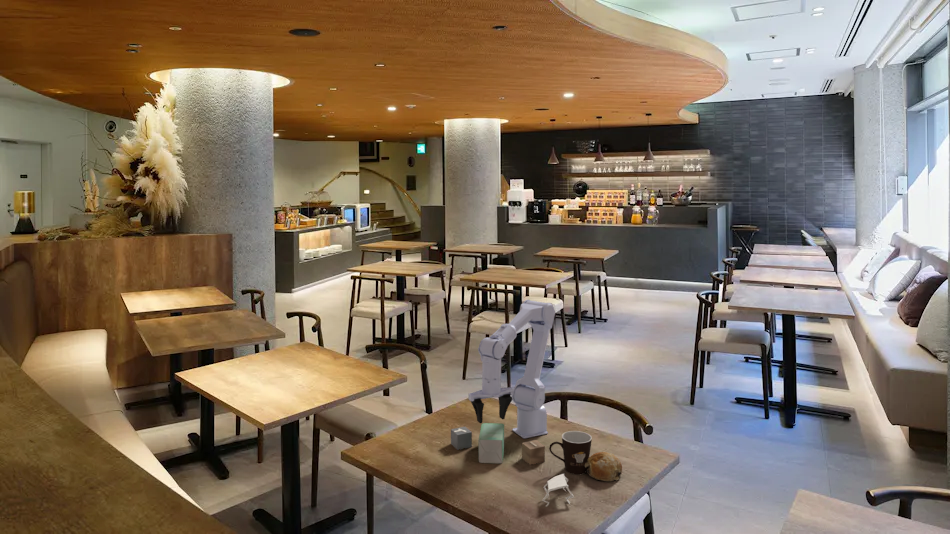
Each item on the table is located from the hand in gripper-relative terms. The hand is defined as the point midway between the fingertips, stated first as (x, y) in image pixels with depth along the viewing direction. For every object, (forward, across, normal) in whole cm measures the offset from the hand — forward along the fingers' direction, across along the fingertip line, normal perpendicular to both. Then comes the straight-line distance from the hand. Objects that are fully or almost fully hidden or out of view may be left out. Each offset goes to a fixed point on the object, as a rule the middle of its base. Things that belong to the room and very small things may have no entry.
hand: (490, 420), depth 192 cm
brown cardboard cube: (+11, +9, -10) cm, 17 cm away
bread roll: (+10, +22, -26) cm, 36 cm away
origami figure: (+11, +4, -32) cm, 34 cm away
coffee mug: (+11, +16, -20) cm, 28 cm away
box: (+11, 0, 0) cm, 11 cm away
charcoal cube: (+11, -6, +9) cm, 15 cm away
